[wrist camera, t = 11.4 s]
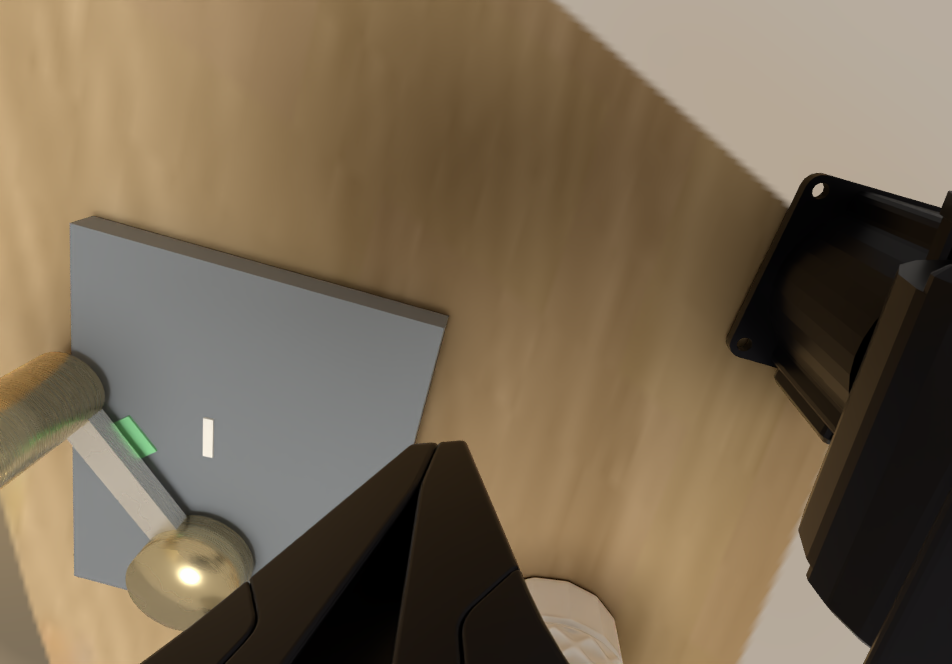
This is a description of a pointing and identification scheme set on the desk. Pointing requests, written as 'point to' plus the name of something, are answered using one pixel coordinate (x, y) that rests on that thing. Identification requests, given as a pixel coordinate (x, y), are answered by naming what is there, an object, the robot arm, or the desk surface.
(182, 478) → the gray board
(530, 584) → the white cup
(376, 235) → the desk surface
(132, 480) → the brass crank handle
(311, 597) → the robot arm
